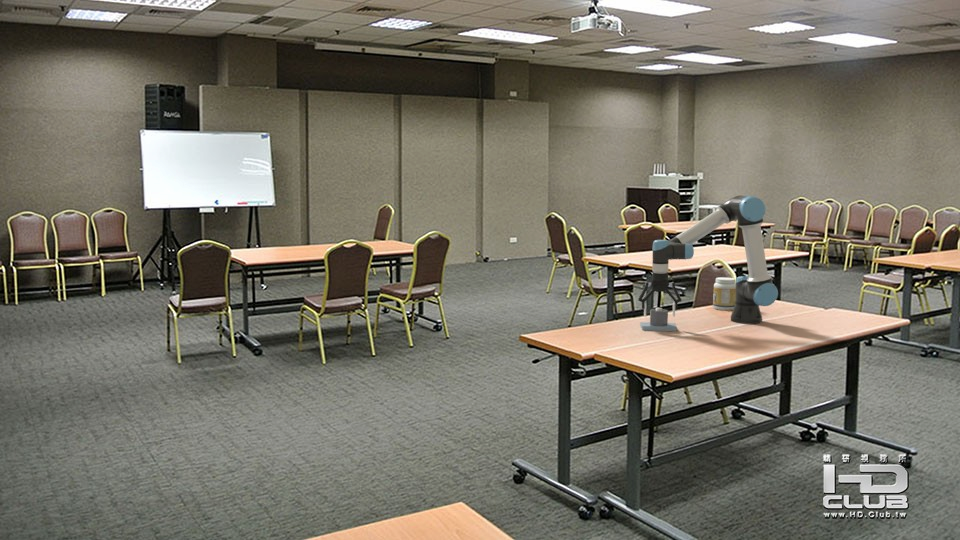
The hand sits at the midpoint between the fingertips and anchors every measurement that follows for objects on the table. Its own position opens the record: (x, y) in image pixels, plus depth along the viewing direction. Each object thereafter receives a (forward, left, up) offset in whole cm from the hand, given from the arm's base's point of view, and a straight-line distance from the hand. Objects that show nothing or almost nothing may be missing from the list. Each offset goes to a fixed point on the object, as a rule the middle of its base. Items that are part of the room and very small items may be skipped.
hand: (659, 315), depth 383 cm
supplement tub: (-43, -62, -6) cm, 75 cm away
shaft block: (0, 0, -6) cm, 6 cm away
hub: (0, 0, -4) cm, 4 cm away
